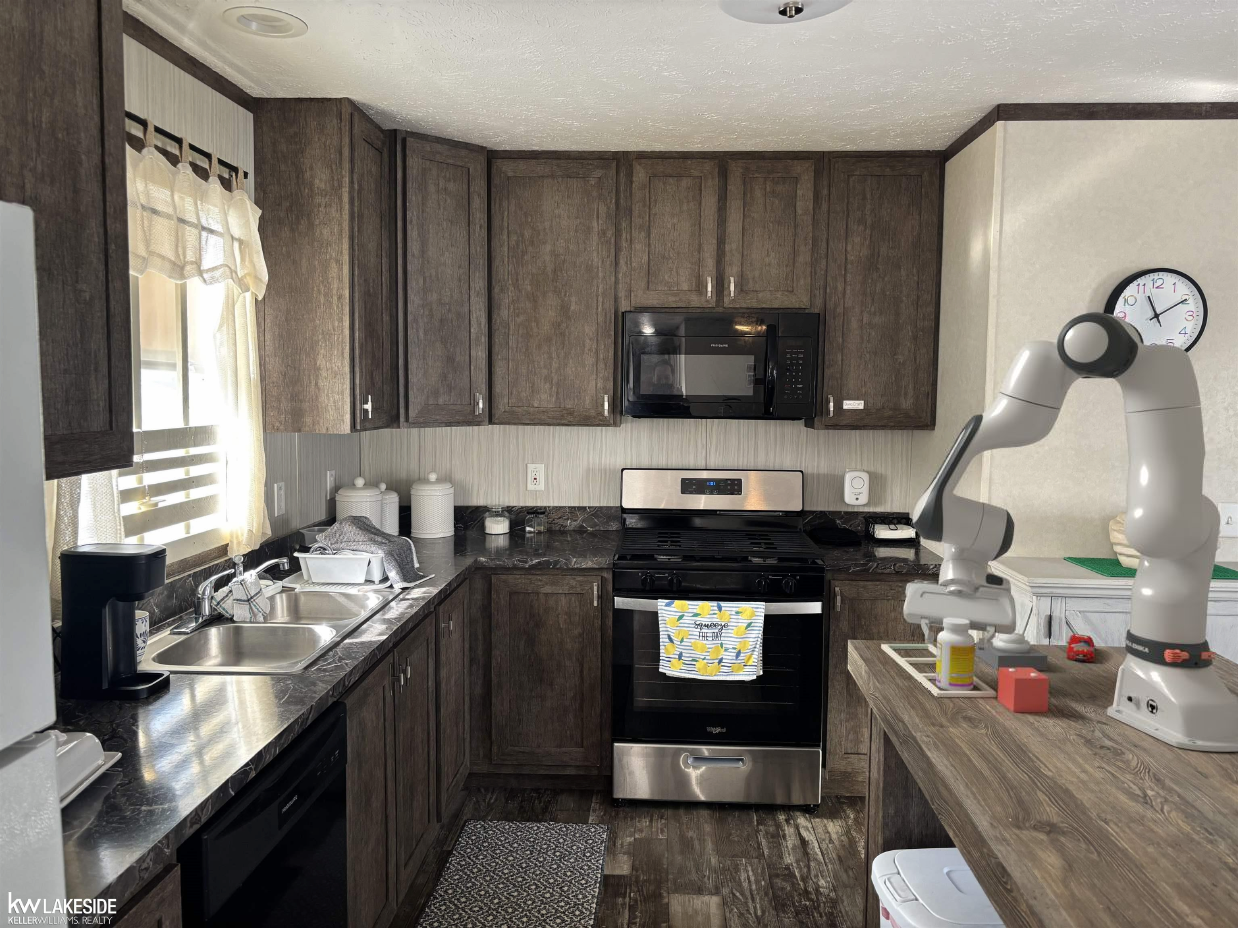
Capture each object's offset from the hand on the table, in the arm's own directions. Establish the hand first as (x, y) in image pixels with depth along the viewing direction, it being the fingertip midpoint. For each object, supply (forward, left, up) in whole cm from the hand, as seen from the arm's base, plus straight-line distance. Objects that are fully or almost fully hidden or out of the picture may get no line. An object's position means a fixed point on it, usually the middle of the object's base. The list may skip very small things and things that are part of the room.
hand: (955, 645), depth 162 cm
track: (+10, 0, -8) cm, 13 cm away
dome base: (+15, -18, -8) cm, 25 cm away
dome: (+15, -18, -5) cm, 24 cm away
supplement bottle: (0, 0, -8) cm, 8 cm away
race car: (+21, -36, -9) cm, 43 cm away
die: (-10, -8, -8) cm, 15 cm away
